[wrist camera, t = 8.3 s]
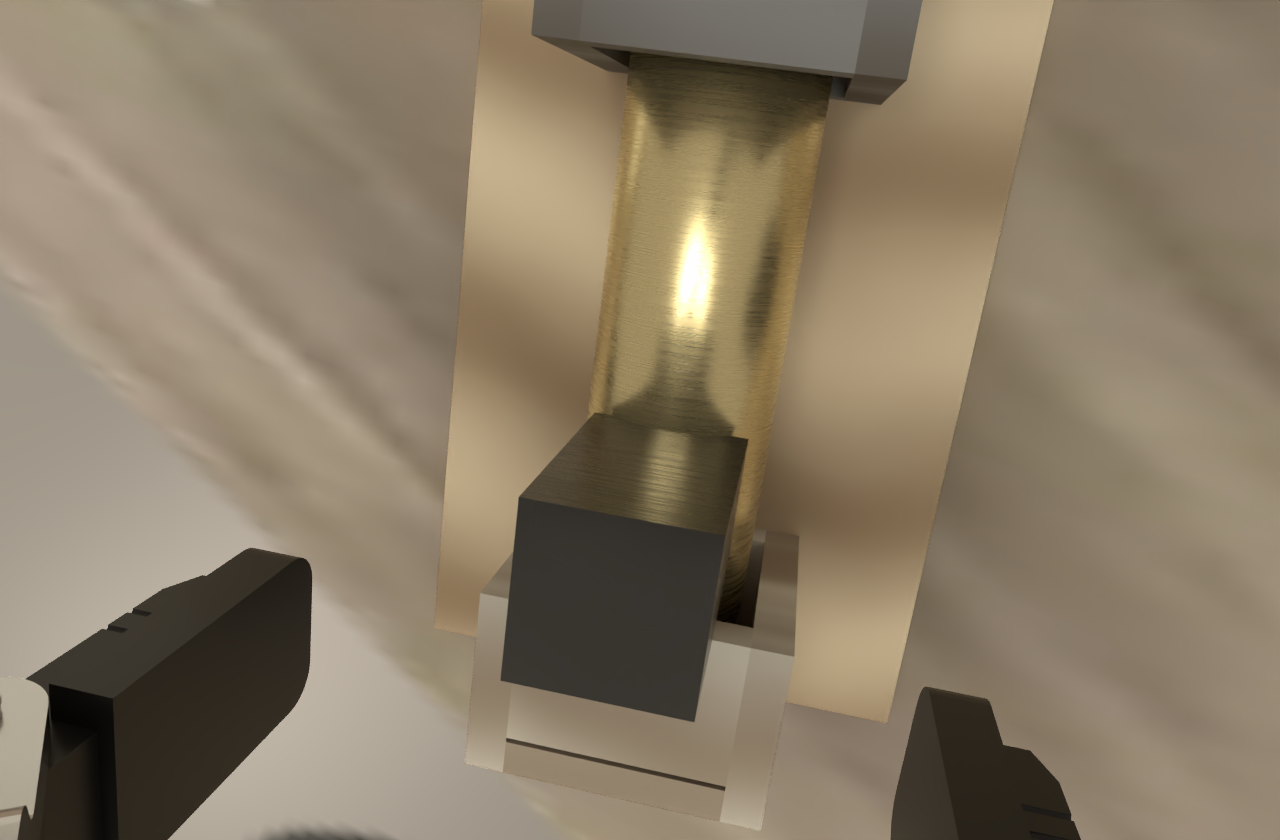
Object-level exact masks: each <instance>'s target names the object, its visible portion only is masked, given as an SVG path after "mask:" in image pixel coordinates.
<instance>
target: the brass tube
mask: <svg viewBox="0 0 1280 840" xmlns="http://www.w3.org/2000/svg"><path fill="white" fill-rule="evenodd" d="M832 82H833V76H829V75H821V74H812V73H804V72H796V71H788V70H779V69H771V68H763V67H755V66H746V65H738V64H730V63H722V62H713V61H705V60H697V59H689V58H680V57H672V56H664V55H656V54H647V53H639V52H631V54H630V62H629V70H628V79H627V87H626V96H625V104H624V113H623V121H622V130H621V138H620V146H619V155H618V163H617V172H616V180H615V189H614V197H613V205H612V214H611V222H610V231H609V239H608V248H607V256H606V264H605V273H604V281H603V290H602V298H601V307H600V315H599V323H598V332H597V340H596V349H595V357H594V366H593V374H592V383H591V391H590V399H589V408H588V416H587V422H586V423H585V424H584V425H583V426H582V427H581V428H580V429H579V431H578V432H577V433H576V434H575V435H574V436H573V437H572V438H571V439H570V441H569V442H568V443H567V444H566V445H565V446H564V447H563V448H562V449H561V451H560V452H559V453H558V454H557V455H556V456H555V457H554V458H553V459H552V461H551V462H550V463H549V464H548V465H547V466H546V467H545V468H544V469H543V471H542V472H541V473H540V474H539V475H538V476H537V477H536V478H535V479H534V481H533V482H532V483H531V484H530V485H529V486H528V487H527V488H526V489H525V491H524V492H523V493H522V494H521V495H520V496H519V499H518V509H517V519H516V529H515V539H514V549H513V559H512V569H511V579H510V589H509V599H508V609H507V619H506V629H505V639H504V649H503V659H502V669H501V679H500V681H504V682H509V683H513V684H518V685H523V686H527V687H532V688H537V689H541V690H546V691H551V692H555V693H560V694H565V695H569V696H574V697H578V698H583V699H588V700H592V701H597V702H602V703H606V704H611V705H616V706H620V707H625V708H630V709H634V710H639V711H643V712H648V713H653V714H657V715H662V716H667V717H671V718H676V719H681V720H685V721H690V722H695V718H696V713H697V708H698V704H699V699H700V694H701V690H702V685H703V680H704V676H705V671H706V667H707V662H708V657H709V653H710V648H711V643H712V639H713V634H714V629H715V625H716V621H721V622H726V623H731V624H736V625H738V619H739V614H740V608H741V602H742V597H743V591H744V585H745V579H746V574H747V568H748V562H749V557H750V551H751V545H752V539H753V534H754V528H755V522H756V516H757V511H758V505H759V499H760V494H761V488H762V482H763V476H764V471H765V465H766V459H767V454H768V448H769V442H770V436H771V431H772V425H773V419H774V414H775V408H776V402H777V396H778V391H779V385H780V379H781V373H782V368H783V362H784V356H785V351H786V345H787V339H788V333H789V328H790V322H791V316H792V311H793V305H794V299H795V293H796V288H797V282H798V276H799V271H800V265H801V259H802V253H803V248H804V242H805V236H806V230H807V225H808V219H809V213H810V208H811V202H812V196H813V190H814V185H815V179H816V173H817V168H818V162H819V156H820V150H821V145H822V139H823V133H824V128H825V122H826V116H827V110H828V105H829V99H830V93H831V87H832Z"/></svg>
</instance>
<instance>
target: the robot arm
mask: <svg viewBox="0 0 1280 840" xmlns="http://www.w3.org/2000/svg"><path fill="white" fill-rule="evenodd" d="M311 604H312V571H311V567H310V564H309V562H308V561H307V560H306V559H304V558H300V557H295V556H290V555H285V554H280V553H275V552H270V551H266V550H261V549H256V548H249V549H246V550H244V551H243V552H241V553H240V554H238V555H237V556H235V557H234V558H232V559H231V560H229V561H228V562H226V563H225V564H224V565H222V566H221V567H219V568H218V569H216V570H215V571H213V572H212V573H210V574H209V575H207V576H203V575H202V576H199V577H196V578H194V579H191V580H188V581H185V582H182V583H179V584H176V585H173V586H170V587H168V588H165V589H162V590H161V591H159V592H158V593H156V594H155V595H153V596H152V597H150V598H149V599H147V600H146V601H144V602H142V603H141V604H139V605H138V606H136V607H135V608H133V611H132V613H126V614H124V615H123V616H121V617H119V618H118V619H116V620H115V621H114V622H112V623H110V624H109V625H108V628H107V630H105V629H101V630H100V631H98V632H97V633H95V634H94V635H92V636H91V637H89V638H87V639H86V640H84V641H83V642H81V643H80V644H78V645H77V646H75V647H74V648H72V649H71V650H69V651H68V652H66V653H64V654H63V655H62V656H60V657H58V658H57V659H55V660H54V661H53V662H51V663H49V664H48V665H46V666H45V667H43V668H42V669H40V670H38V671H37V672H35V673H34V674H33V675H31V676H29V677H28V678H26V679H22V678H17V677H9V676H0V840H168V839H169V838H170V837H171V836H172V834H173V833H174V832H175V831H176V830H177V829H178V828H179V827H180V826H181V825H182V824H183V823H184V822H185V821H186V820H187V819H188V818H189V817H190V816H191V815H192V813H194V811H195V810H197V808H198V807H199V806H200V805H201V804H202V803H203V802H204V801H205V800H206V799H207V798H208V797H209V796H210V795H211V794H212V793H213V792H214V791H215V790H216V789H217V788H218V787H219V786H220V785H221V783H222V782H223V781H224V780H225V779H226V778H227V777H228V776H229V775H230V774H231V773H232V772H233V771H234V770H235V769H236V768H237V767H238V766H239V765H240V764H241V762H243V761H244V759H245V758H246V757H247V756H248V755H249V754H250V753H251V752H252V751H253V750H254V749H255V748H256V747H257V746H258V745H259V744H260V743H261V742H262V741H263V739H265V738H266V737H267V736H268V735H269V733H270V732H271V731H272V730H273V729H274V728H275V727H276V726H277V725H278V724H279V723H280V722H281V721H282V720H283V719H284V718H285V717H286V716H287V715H288V714H289V713H290V711H291V710H292V709H293V708H294V706H295V705H296V703H297V702H298V700H299V698H300V696H301V694H302V692H303V689H304V687H305V684H306V680H307V677H308V673H309V666H310V641H311V640H310V639H311ZM891 840H1081V839H1080V836H1079V834H1078V831H1077V828H1076V826H1075V823H1074V821H1071V812H1070V810H1069V807H1068V805H1067V802H1066V799H1065V797H1064V794H1063V791H1062V789H1061V786H1060V783H1059V782H1058V781H1057V780H1056V778H1055V777H1054V776H1053V775H1052V774H1051V773H1050V772H1049V771H1048V770H1047V769H1046V767H1045V766H1044V765H1043V764H1042V763H1041V762H1040V761H1039V760H1038V759H1037V758H1036V757H1035V755H1034V754H1033V753H1032V752H1031V751H1029V750H1024V749H1020V748H1015V747H1010V746H1005V745H1003V743H1002V740H1001V737H1000V733H999V730H998V727H997V724H996V720H995V717H994V714H993V711H992V707H991V704H990V702H989V701H988V700H987V699H984V698H980V697H975V696H970V695H965V694H960V693H955V692H950V691H945V690H940V689H935V688H931V687H924V688H923V690H922V691H921V694H920V696H919V699H918V703H917V706H916V711H915V715H914V719H913V723H912V727H911V732H910V736H909V740H908V744H907V748H906V753H905V757H904V761H903V765H902V769H901V774H900V778H899V782H898V786H897V790H896V795H895V800H894V806H893V814H892V824H891Z"/></svg>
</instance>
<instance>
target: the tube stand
mask: <svg viewBox="0 0 1280 840" xmlns="http://www.w3.org/2000/svg"><path fill="white" fill-rule="evenodd" d="M1053 2H1054V0H483V2H482V15H481V27H480V40H479V53H478V66H477V79H476V92H475V105H474V118H473V131H472V144H471V157H470V170H469V183H468V196H467V209H466V222H465V235H464V247H463V260H462V273H461V286H460V299H459V312H458V325H457V338H456V351H455V364H454V377H453V390H452V403H451V416H450V429H449V442H448V455H447V467H446V480H445V493H444V506H443V519H442V532H441V545H440V558H439V571H438V584H437V597H436V610H435V623H434V628H435V629H440V630H445V631H450V632H454V633H459V634H464V635H469V636H473V637H476V645H475V656H474V667H473V678H472V689H471V700H470V711H469V722H468V733H467V743H466V754H465V764H469V765H474V766H478V767H482V768H487V769H491V770H496V771H500V772H504V773H509V774H513V775H517V776H522V777H526V778H531V779H535V780H539V781H544V782H548V783H552V784H557V785H561V786H566V787H570V788H574V789H579V790H583V791H587V792H592V793H596V794H601V795H605V796H609V797H614V798H618V799H622V800H627V801H631V802H636V803H640V804H644V805H649V806H653V807H657V808H662V809H666V810H671V811H675V812H679V813H684V814H688V815H692V816H697V817H701V818H706V819H710V820H714V821H719V822H723V823H727V824H732V825H736V826H741V827H745V828H749V829H754V830H758V831H761V826H762V821H763V816H764V811H765V805H766V800H767V795H768V790H769V785H770V780H771V775H772V770H773V764H774V759H775V754H776V749H777V744H778V739H779V734H780V729H781V723H782V718H783V713H784V708H785V703H786V702H788V703H793V704H798V705H802V706H807V707H812V708H817V709H822V710H826V711H831V712H836V713H841V714H845V715H850V716H855V717H860V718H864V719H869V720H874V721H879V722H884V723H888V718H889V714H890V710H891V705H892V701H893V697H894V692H895V688H896V683H897V679H898V675H899V670H900V666H901V662H902V657H903V653H904V649H905V644H906V640H907V636H908V631H909V627H910V623H911V618H912V614H913V610H914V605H915V601H916V597H917V592H918V588H919V584H920V579H921V575H922V571H923V566H924V562H925V558H926V553H927V549H928V545H929V540H930V536H931V532H932V527H933V523H934V518H935V514H936V510H937V505H938V501H939V497H940V492H941V488H942V484H943V479H944V475H945V471H946V466H947V462H948V458H949V453H950V449H951V445H952V440H953V436H954V432H955V427H956V423H957V419H958V414H959V410H960V406H961V401H962V397H963V393H964V388H965V384H966V380H967V375H968V371H969V366H970V362H971V358H972V353H973V349H974V345H975V340H976V336H977V332H978V327H979V323H980V319H981V314H982V310H983V306H984V301H985V297H986V293H987V288H988V284H989V280H990V275H991V271H992V267H993V262H994V258H995V254H996V249H997V245H998V241H999V236H1000V232H1001V228H1002V223H1003V219H1004V215H1005V210H1006V206H1007V201H1008V197H1009V193H1010V188H1011V184H1012V180H1013V175H1014V171H1015V167H1016V162H1017V158H1018V154H1019V149H1020V145H1021V141H1022V136H1023V132H1024V128H1025V123H1026V119H1027V115H1028V110H1029V106H1030V102H1031V97H1032V93H1033V89H1034V84H1035V80H1036V76H1037V71H1038V67H1039V63H1040V58H1041V54H1042V50H1043V45H1044V41H1045V36H1046V32H1047V28H1048V23H1049V19H1050V15H1051V10H1052V6H1053ZM631 52H639V53H647V54H656V55H664V56H672V57H680V58H689V59H697V60H705V61H713V62H722V63H730V64H738V65H746V66H755V67H763V68H771V69H779V70H788V71H796V72H804V73H812V74H821V75H829V76H833V82H832V87H831V93H830V99H829V105H828V110H827V116H826V122H825V128H824V133H823V139H822V145H821V150H820V156H819V162H818V168H817V173H816V179H815V185H814V190H813V196H812V202H811V208H810V213H809V219H808V225H807V230H806V236H805V242H804V248H803V253H802V259H801V265H800V271H799V276H798V282H797V288H796V293H795V299H794V305H793V311H792V316H791V322H790V328H789V333H788V339H787V345H786V351H785V356H784V362H783V368H782V373H781V379H780V385H779V391H778V396H777V402H776V408H775V414H774V419H773V425H772V431H771V436H770V442H769V448H768V454H767V459H766V465H765V471H764V476H763V482H762V488H761V494H760V499H759V505H758V511H757V516H756V522H755V528H754V534H753V539H752V545H751V551H750V557H749V562H748V568H747V574H746V579H745V585H744V591H743V597H742V602H741V608H740V614H739V619H738V625H736V624H731V623H726V622H721V621H716V625H715V629H714V634H713V639H712V643H711V648H710V653H709V657H708V662H707V667H706V671H705V676H704V680H703V685H702V690H701V694H700V699H699V704H698V708H697V713H696V718H695V722H690V721H685V720H681V719H676V718H671V717H667V716H662V715H657V714H653V713H648V712H643V711H639V710H634V709H630V708H625V707H620V706H616V705H611V704H606V703H602V702H597V701H592V700H588V699H583V698H578V697H574V696H569V695H565V694H560V693H555V692H551V691H546V690H541V689H537V688H532V687H527V686H523V685H518V684H513V683H509V682H504V681H500V679H501V669H502V659H503V649H504V639H505V629H506V619H507V609H508V599H509V589H510V579H511V569H512V559H513V549H514V539H515V529H516V519H517V509H518V499H519V496H520V495H521V494H522V493H523V492H524V491H525V489H526V488H527V487H528V486H529V485H530V484H531V483H532V482H533V481H534V479H535V478H536V477H537V476H538V475H539V474H540V473H541V472H542V471H543V469H544V468H545V467H546V466H547V465H548V464H549V463H550V462H551V461H552V459H553V458H554V457H555V456H556V455H557V454H558V453H559V452H560V451H561V449H562V448H563V447H564V446H565V445H566V444H567V443H568V442H569V441H570V439H571V438H572V437H573V436H574V435H575V434H576V433H577V432H578V431H579V429H580V428H581V427H582V426H583V425H584V424H585V423H586V422H587V416H588V408H589V399H590V391H591V383H592V374H593V366H594V357H595V349H596V340H597V332H598V323H599V315H600V307H601V298H602V290H603V281H604V273H605V264H606V256H607V248H608V239H609V231H610V222H611V214H612V205H613V197H614V189H615V180H616V172H617V163H618V155H619V146H620V138H621V130H622V121H623V113H624V104H625V96H626V87H627V79H628V70H629V62H630V54H631Z"/></svg>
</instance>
